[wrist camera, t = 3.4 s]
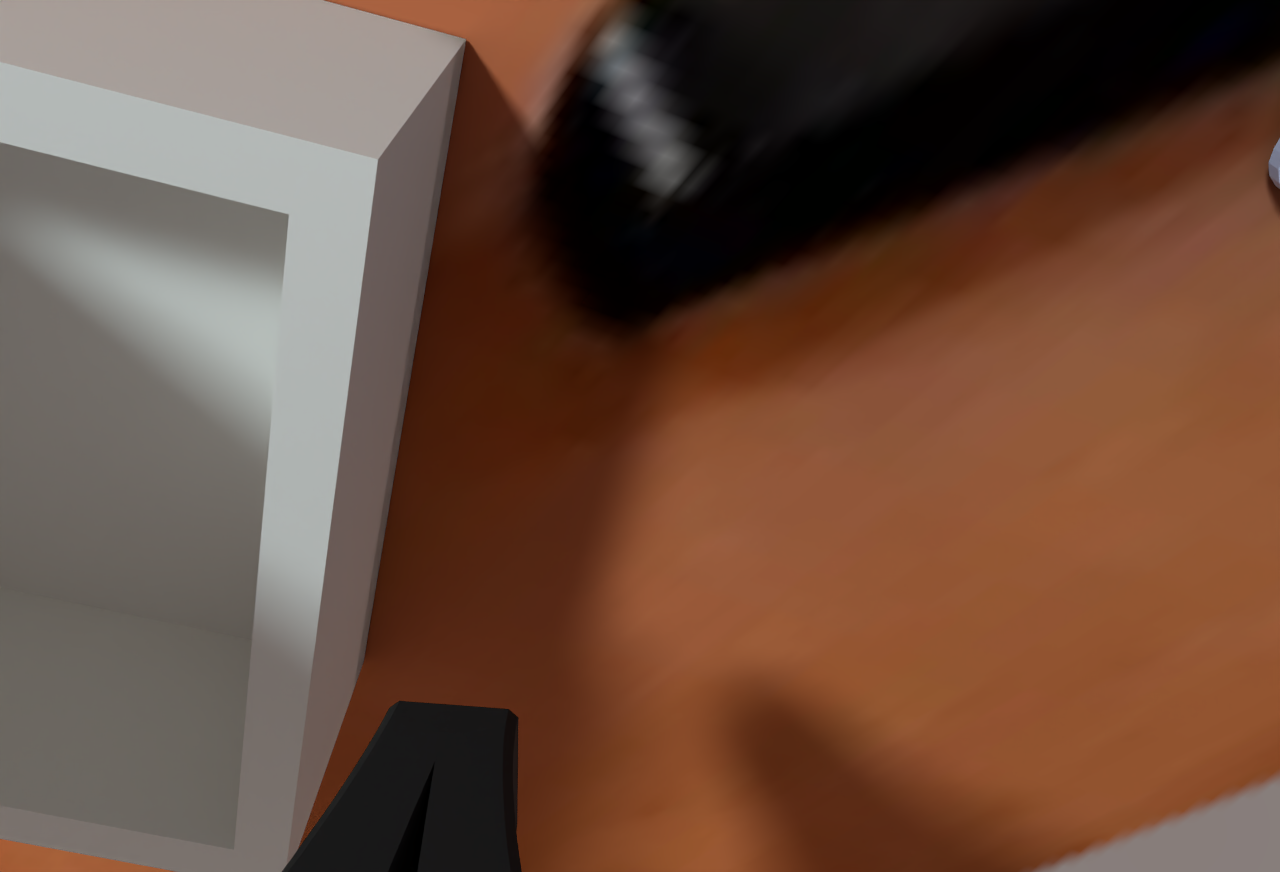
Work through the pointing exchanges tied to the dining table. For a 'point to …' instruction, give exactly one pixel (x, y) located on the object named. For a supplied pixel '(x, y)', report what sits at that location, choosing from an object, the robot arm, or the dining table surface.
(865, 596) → the dining table surface
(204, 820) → the carton
